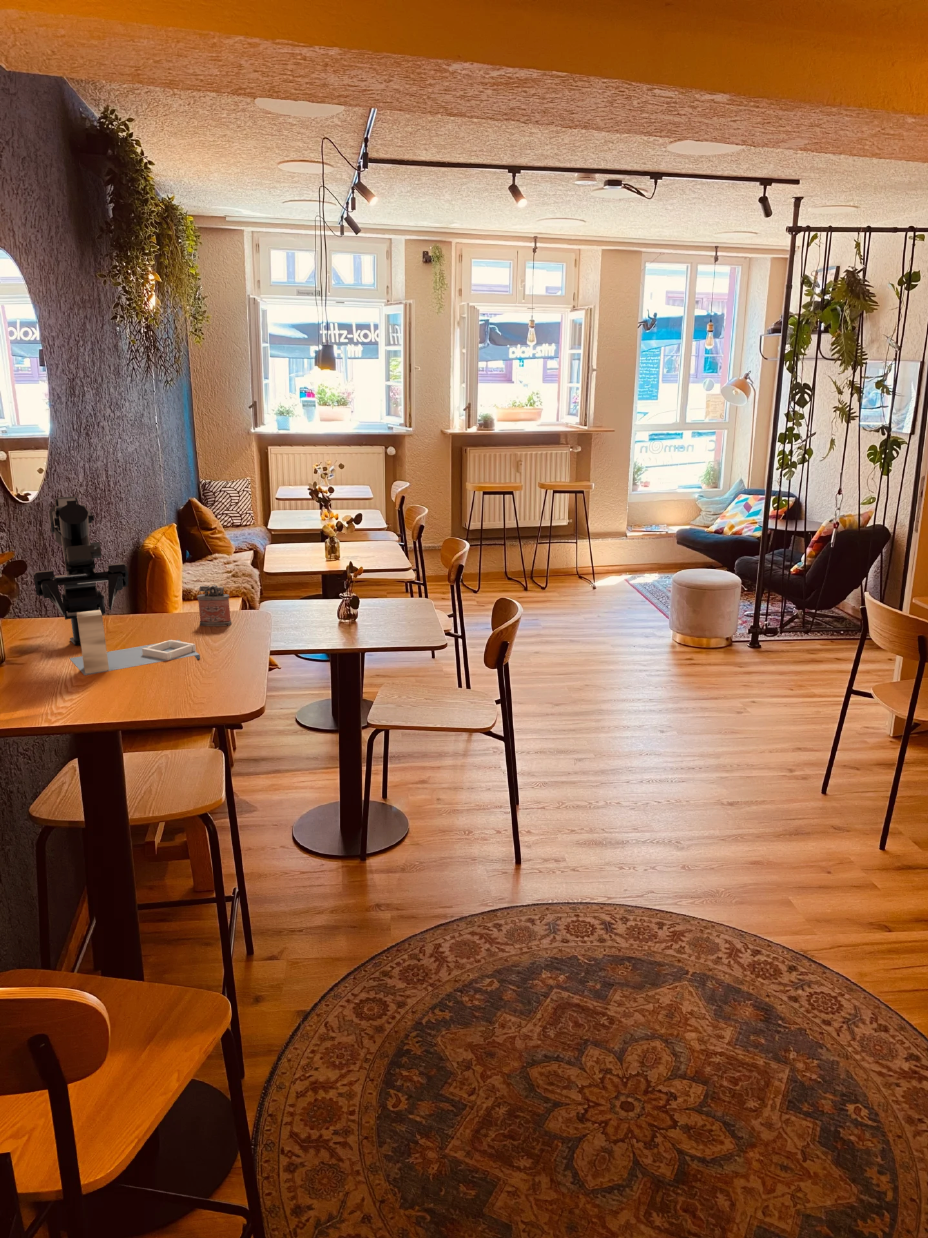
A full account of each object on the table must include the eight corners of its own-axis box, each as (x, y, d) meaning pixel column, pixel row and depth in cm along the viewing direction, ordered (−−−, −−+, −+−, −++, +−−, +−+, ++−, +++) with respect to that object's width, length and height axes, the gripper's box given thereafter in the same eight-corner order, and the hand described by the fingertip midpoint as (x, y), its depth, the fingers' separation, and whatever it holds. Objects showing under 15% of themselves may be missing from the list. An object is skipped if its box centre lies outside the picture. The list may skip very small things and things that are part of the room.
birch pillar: (83, 667, 190) (76, 612, 187) (107, 664, 192) (100, 609, 189) (85, 673, 186) (78, 617, 183) (109, 670, 188) (102, 614, 185)
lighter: (233, 622, 229) (230, 584, 226) (228, 626, 226) (225, 587, 223) (202, 622, 230) (199, 584, 227) (197, 625, 226) (193, 587, 224)
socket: (142, 655, 199) (141, 648, 198) (171, 646, 205) (170, 639, 205) (167, 660, 195) (167, 653, 194) (195, 650, 201) (195, 644, 201)
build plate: (70, 662, 198) (69, 658, 197) (179, 643, 211) (178, 639, 210) (85, 679, 186) (84, 675, 185) (200, 658, 199) (199, 654, 198)
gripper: (27, 534, 188) (36, 595, 182) (122, 526, 196) (133, 585, 189) (32, 565, 197) (40, 625, 190) (122, 556, 205) (133, 614, 198)
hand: (87, 611), depth 192 cm, fingers open, 9 cm apart
